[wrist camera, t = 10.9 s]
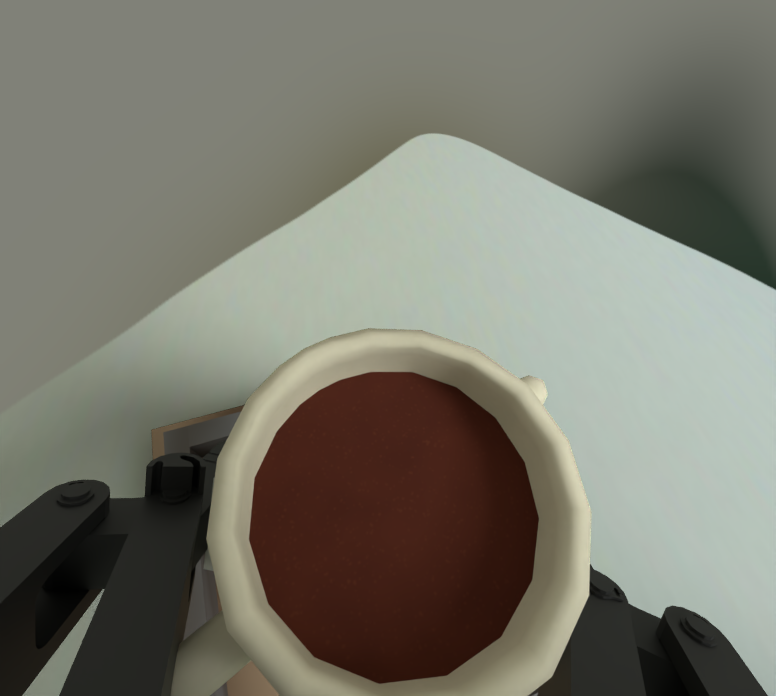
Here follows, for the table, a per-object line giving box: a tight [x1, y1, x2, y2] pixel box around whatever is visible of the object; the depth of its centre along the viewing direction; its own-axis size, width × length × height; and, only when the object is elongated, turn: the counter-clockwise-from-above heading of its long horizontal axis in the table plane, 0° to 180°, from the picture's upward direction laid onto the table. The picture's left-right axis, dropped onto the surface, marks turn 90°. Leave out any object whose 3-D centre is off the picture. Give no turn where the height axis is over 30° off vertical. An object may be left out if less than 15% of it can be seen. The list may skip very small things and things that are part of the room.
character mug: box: [170, 328, 592, 696], centre depth 13 cm, size 11×7×13 cm, turn 128°
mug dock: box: [151, 405, 538, 696], centre depth 20 cm, size 20×20×3 cm
